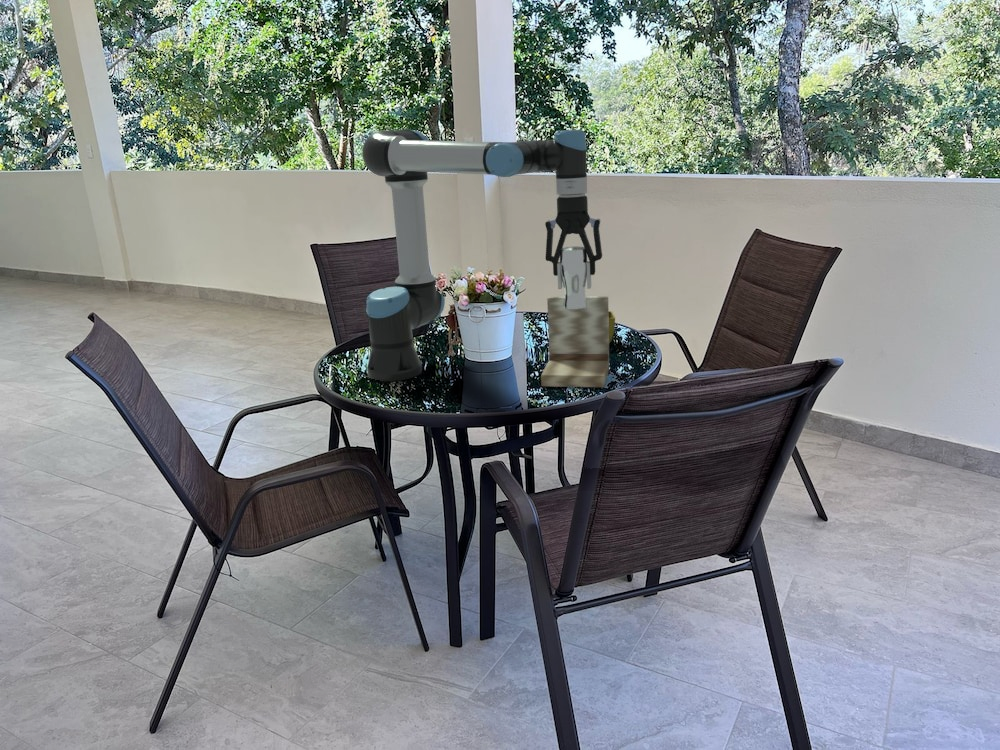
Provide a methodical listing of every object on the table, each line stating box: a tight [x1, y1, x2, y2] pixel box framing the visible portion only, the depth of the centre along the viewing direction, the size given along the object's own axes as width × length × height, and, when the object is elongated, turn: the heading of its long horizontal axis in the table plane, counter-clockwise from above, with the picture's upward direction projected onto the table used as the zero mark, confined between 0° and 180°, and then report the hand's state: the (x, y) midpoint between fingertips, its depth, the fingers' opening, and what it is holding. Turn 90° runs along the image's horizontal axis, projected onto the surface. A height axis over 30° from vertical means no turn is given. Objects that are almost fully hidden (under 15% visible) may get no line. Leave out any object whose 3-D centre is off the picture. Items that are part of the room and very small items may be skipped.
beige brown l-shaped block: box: [540, 295, 610, 388], centre depth 198 cm, size 16×16×20 cm
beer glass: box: [559, 246, 589, 309], centre depth 194 cm, size 7×7×15 cm
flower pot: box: [609, 310, 616, 344], centre depth 230 cm, size 9×9×9 cm
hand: (574, 287), depth 194 cm, fingers closed on beer glass, 7 cm apart
